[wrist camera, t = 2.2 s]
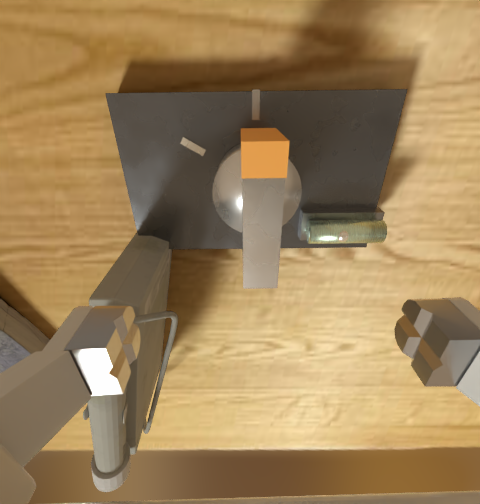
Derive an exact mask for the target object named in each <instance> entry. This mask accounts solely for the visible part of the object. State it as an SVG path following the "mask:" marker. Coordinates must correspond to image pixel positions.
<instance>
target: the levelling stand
mask: <svg viewBox="0 0 480 504" xmlns="http://www.w3.org/2000/svg"><path fill="white" fill-rule="evenodd" d="M406 93H407V89H388V90H315V91H260V89H259V90H252V91H243V92H171V93H105V94H106V98H107V103H108V107H109V111H110V116H111V120H112V124H113V129H114V133H115V137H116V142H117V146H118V150H119V155H120V159H121V163H122V168H123V172H124V176H125V181H126V185H127V189H128V194H129V198H130V202H131V207H132V211H133V215H134V220H135V224H136V229H137V233H138V236H154V237H157V238H159V239H162V240H165V241H168V242H169V249H243V246H242V232H239V231H237V230H235V229H233V228H231V227H230V226H229V225H227V224H226V223H225V222H224V221H223V220H222V219H221V217H220V216H219V214H218V213H217V211H216V208H215V206H214V202H213V196H212V189H213V183H214V179H215V176H216V172H217V169H218V166H219V164H220V162H221V160H222V158H223V157H224V156H225V154H226V153H227V152H228V151H229V150H231V149H232V148H233V147H235V146H237V145H238V144H241V128H276V129H278V130H279V131H280V132H281V133H282V134H283V135H284V136H285V137H286V138H287V139H288V140H289V141H290V142H289V155H288V158H289V160H290V161H291V162H292V164H293V165H294V166H295V168H296V170H297V171H298V174H299V176H300V180H301V186H302V194H301V200H300V203H299V206H298V208H297V210H296V212H295V214H294V215H293V216H292V218H291V219H290V220H289V221H288V222H287V223H286V224H284V225H283V226H282V232H281V245H280V248H335V247H366V246H367V243H382V242H384V240H385V238H386V235H387V226H386V223H385V222H384V221H383V216H384V213H385V212H383V211H382V210H381V209H380V208H377V204H378V200H379V196H380V192H381V188H382V185H383V181H384V177H385V173H386V169H387V165H388V162H389V158H390V154H391V150H392V146H393V143H394V139H395V135H396V131H397V127H398V123H399V120H400V116H401V112H402V108H403V104H404V100H405V97H406Z"/></svg>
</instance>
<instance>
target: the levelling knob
mask: <svg viewBox="0 0 480 504" xmlns="http://www.w3.org/2000/svg"><path fill="white" fill-rule="evenodd" d="M289 142H290V141H289V140H288V139H287V138H286V137H285V136H284V135H283V134H282V133H281V132H280V131H279V130H278V129H276V128H241V144H238V145H237V146H235V147H233V148H232V149H231V150H229V151H228V152H227V153H226V154H225V156H224V157H223V158H222V160H221V162H220V164H219V166H218V169H217V172H216V176H215V179H214V183H213V189H212V196H213V202H214V206H215V208H216V211H217V213H218V214H219V216H220V217H221V219H222V220H223V221H224V222H225V223H226V224H227V225H229V226H230V227H231V228H233V229H235V230H237V231H239V232H242V246H243V288H277V285H278V272H279V258H280V245H281V232H282V226H283V225H284V224H286V223H287V222H288V221H289V220H290V219H291V218H292V216H293V215H294V214H295V212H296V210H297V208H298V206H299V203H300V200H301V194H302V186H301V180H300V176H299V174H298V171H297V170H296V168H295V166H294V165H293V164H292V162H291V161H290V160H289V158H288V155H289Z"/></svg>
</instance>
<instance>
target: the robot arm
mask: <svg viewBox="0 0 480 504" xmlns="http://www.w3.org/2000/svg"><path fill="white" fill-rule="evenodd" d="M402 312H403V313H404V316H403V317H401V318H400V319H399V320H398V321H397V323H396V326H395V339H396V341H397V344H398V346H399V347H400V349H401V351H402V352H403V353H404V354H406V355H407V356H409V357H410V358H412V362H411V366H412V367H413V369H414V370H415V372H416V373H417V375H418V377H419V378H420V380H421V381H422V383H423V384H424V386H457V387H456V388H457V389H458V390H459V391H460V392H462V393H463V394H464V395H466V396H467V397H468V398H469V399H471V400H472V401H473V402H475V403H476V404H477V405H478V406H480V311H479V310H478V309H477V308H475V307H474V306H473V305H472V304H471V303H470V302H469V301H467V300H465V299H463V298H461V297H459V298H442V299H408V300H407V301H406V302H405V303H404V305H403V307H402ZM134 318H135V313H134V310H133V307H131V306H78V307H76V308H74V309H73V311H72V312H71V313H70V314H69V316H68V317H67V318H66V320H65V321H64V322H63V324H62V325H61V326H60V328H59V329H58V330H57V332H56V333H55V334H54V336H53V337H52V338H51V340H50V341H49V342H48V343H47V345H46V346H45V347H44V349H43V350H42V351H36V352H34V353H32V354H31V355H29V356H28V357H26V358H24V359H23V360H21V361H20V362H18V363H16V364H15V365H13V366H11V367H10V368H8V369H7V370H5V371H3V372H2V373H0V504H28V503H29V501H30V499H31V496H32V494H33V492H34V490H35V488H36V484H35V480H34V479H33V478H32V477H31V476H30V475H29V474H28V473H27V472H26V470H25V469H24V468H23V467H24V466H25V465H26V464H27V463H28V462H29V461H30V460H31V459H32V458H33V457H34V456H35V455H36V454H37V453H38V452H39V451H40V450H41V449H42V448H43V447H44V446H45V445H46V444H47V443H48V442H49V441H50V440H51V439H52V438H53V437H54V436H55V435H56V434H57V433H58V431H59V430H60V429H61V428H62V427H63V426H64V425H65V424H66V423H67V422H68V421H69V420H70V419H71V418H72V417H73V416H74V415H75V414H76V413H77V412H78V411H79V410H80V409H81V408H82V407H83V406H84V405H85V404H86V403H87V402H88V401H89V400H90V399H91V396H98V395H116V394H123V393H124V390H125V388H126V385H127V382H128V380H129V377H130V374H131V370H130V367H129V365H130V364H131V363H132V362H133V361H134V360H135V359H136V358H137V355H138V352H139V349H140V341H141V338H140V330H139V327H138V326H137V325H136V324H134V323H133V320H134ZM53 504H480V491H454V492H421V493H388V494H387V493H386V494H353V495H319V496H287V497H255V498H254V497H253V498H219V499H189V500H187V499H186V500H152V501H119V502H88V503H87V502H86V503H53Z"/></svg>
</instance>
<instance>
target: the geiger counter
mask: <svg viewBox="0 0 480 504" xmlns="http://www.w3.org/2000/svg"><path fill="white" fill-rule="evenodd" d="M171 256H172V249H169V242H168V241H165V240H162V239H159V238H157V237H154V236H138V233H136V234H135V236H134V237H133V239H132V240H131V241H130V243H129V244H128V245H127V247H126V248H125V250H124V251H123V252H122V254H121V255H120V257H119V258H118V259H117V261H116V262H115V264H114V265H113V266H112V268H111V269H110V270H109V272H108V273H107V275H106V276H105V277H104V279H103V280H102V282H101V283H100V284H99V286H98V287H97V288H96V290H95V291H94V293H93V294H92V295H91V297H90V299H89V306H131V307H133V310H134V313H135V318H134V320H133V323H134V324H136V325H137V326H138V327H139V330H140V338H141V341H140V349H139V352H138V355H137V358H136V359H135V360H134V361H133V362H132V363H131V364H130V365H129V367H130V370H131V374H130V377H129V380H128V382H127V385H126V388H125V390H124V393H123V394H116V395H98V396H91V399H90V400H89V401H88V402H87V403H88V405H87V407H86V409H85V410H84V412H83V418H84V420H86V419H87V418H88V417H89V418H90V425H91V433H92V440H93V447H94V455H93V458H92V462H91V466H92V474H93V481H94V484H95V486H96V488H98V489H99V490H100V491H103V492H109V491H113V490H115V489H117V488H118V487H119V486H121V485H122V484H123V483H124V481H125V480H126V479H127V477H128V474H129V472H130V454H135V453H136V451H137V447H138V444H139V440H140V437H141V433H142V429H143V431H144V433H145V434H147V433H148V432H149V430H150V427H151V423H152V419H153V416H154V412H155V408H156V405H157V401H158V397H159V393H160V390H161V386H162V382H163V378H164V375H165V371H166V367H167V364H168V360H169V356H170V352H171V349H172V345H173V341H174V337H175V334H176V329H177V324H178V316H177V314H176V313H175V312H172V311H166V309H167V299H168V288H169V277H170V267H171ZM166 318H171V319H172V324H171V329H170V334H169V338H168V342H167V346H166V350H165V354H164V358H163V362H162V351H163V341H164V330H165V320H166ZM161 362H162V366H161ZM160 366H161V370H160V374H159V378H158V382H157V386H156V390H155V394H154V398H153V402H152V406H151V410H150V414H149V418H148V422H146V415H147V412H148V408H149V405H150V401H151V398H152V394H153V390H154V387H155V383H156V380H157V376H158V373H159V369H160Z"/></svg>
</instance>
